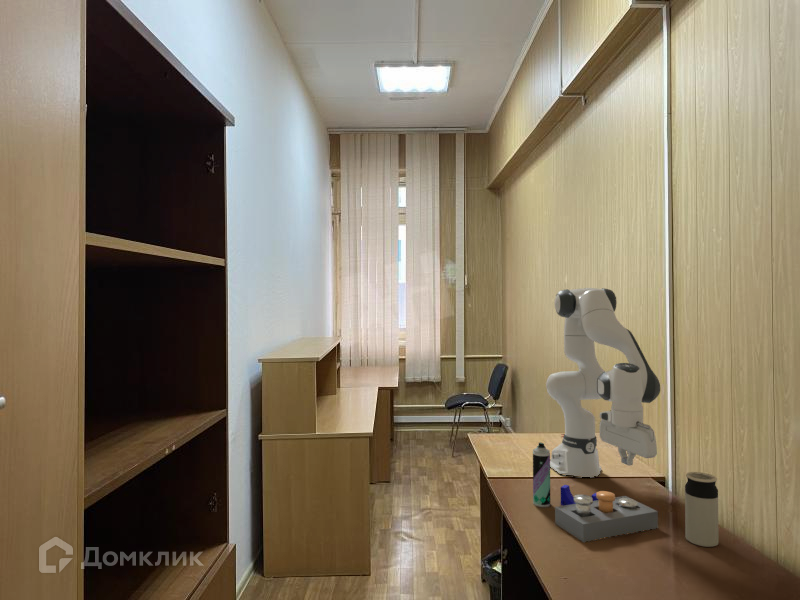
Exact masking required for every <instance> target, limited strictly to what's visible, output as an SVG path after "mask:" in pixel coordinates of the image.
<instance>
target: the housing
mask: <svg viewBox="0 0 800 600" xmlns="http://www.w3.org/2000/svg"><path fill="white" fill-rule="evenodd" d="M620 498H630V499H632V498H631V497H629V496H627V495H622V496H617V497H616V496H615V501H613V512H611V513H603V512H601V511H599V500H596V501H593V503H592V504H591V505H590V516H587V517H580V516H578V515H577V514H576V504H571V505H565V506H563V505H560V506H555V507H554V517H555V518H554V524H555V525H556V526H557V527H560V528H561V529H562V530H564V531H566V532H567V533H568V534H571V536H573V537H575V539H578V540H579V541H581V542H582V543H587V542H586V541H588V542H592V541H591V540H593V541H596V540H595V539H599V540H601V539H600V538H604V537H609V538H612V537H611V536H615V537H617V536H616V535H620V536H622V535H621V534H625V535H628V534H627V533H631V534H634V533H633V532H636V533H639V532H638V531H641V532H644V531H643V530H647V531H650V529H652V530H657V529H658V528H659V519H658V517H659V514H658V512H659V511H658V510H656V509H654V508H652V507H650V506H648V505H646V504H644V503H642V502H639V501H637V508H634V509H628V510H627V509H625V508H623V507H621V506H619V505H618V499H620ZM656 528H657V529H656ZM604 539H605V538H604Z"/></svg>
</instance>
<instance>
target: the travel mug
mask: <svg viewBox="0 0 800 600" xmlns="http://www.w3.org/2000/svg"><path fill="white" fill-rule="evenodd" d="M685 476H686V479H687V482H686V483H685V484H684V509H685V510H684V512H685V513H684V517H685V520H684V523H685V525H684V527H685V529H684V531H685V537H684V538H685V539H686V540H687V541H688V542H689V543H691V544H693V545H695V546H699V547H704V548H706V547H707V548H710V547H716V546H718V545H719V489H718V487H717V486H716V484H717V483H716V482H717V480H718V478H717V476H715V475H713V474H710V473H706V472H701V471H689V472H686V474H685Z"/></svg>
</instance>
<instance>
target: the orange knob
mask: <svg viewBox="0 0 800 600" xmlns="http://www.w3.org/2000/svg"><path fill="white" fill-rule="evenodd" d="M595 493H596V498H597V499H598V500H599V511H601V512H603V513H611V512H613V501H615V497H616V494H615V493H614V492H611V491H605V490H600V491H597V492H595Z"/></svg>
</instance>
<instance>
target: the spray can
mask: <svg viewBox="0 0 800 600" xmlns="http://www.w3.org/2000/svg"><path fill="white" fill-rule="evenodd" d="M550 459H551V453H550V449H548V448H546V446H545V444H544V442H538V444H537V445H536V448H533V449H532V504H533V506H536V507H540V508H548V507H550V506H551V468H550Z"/></svg>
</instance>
